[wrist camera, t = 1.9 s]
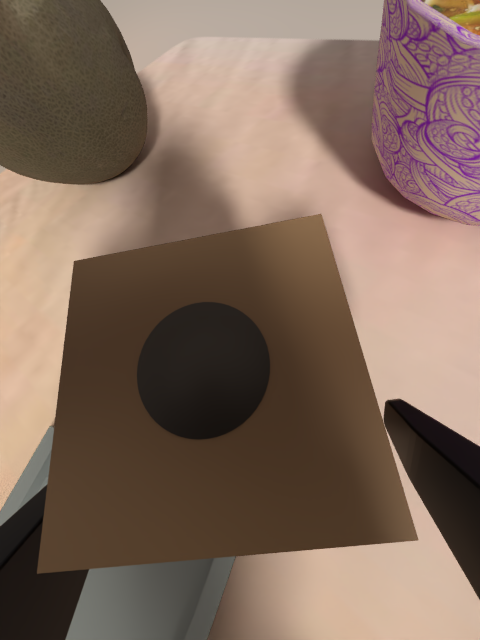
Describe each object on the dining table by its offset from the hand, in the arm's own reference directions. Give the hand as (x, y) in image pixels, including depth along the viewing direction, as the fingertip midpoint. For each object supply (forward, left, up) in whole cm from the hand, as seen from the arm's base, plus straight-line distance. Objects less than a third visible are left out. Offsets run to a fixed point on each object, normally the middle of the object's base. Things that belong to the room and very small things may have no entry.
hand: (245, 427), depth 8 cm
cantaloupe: (+16, +24, -9) cm, 30 cm away
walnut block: (+1, +1, -9) cm, 9 cm away
